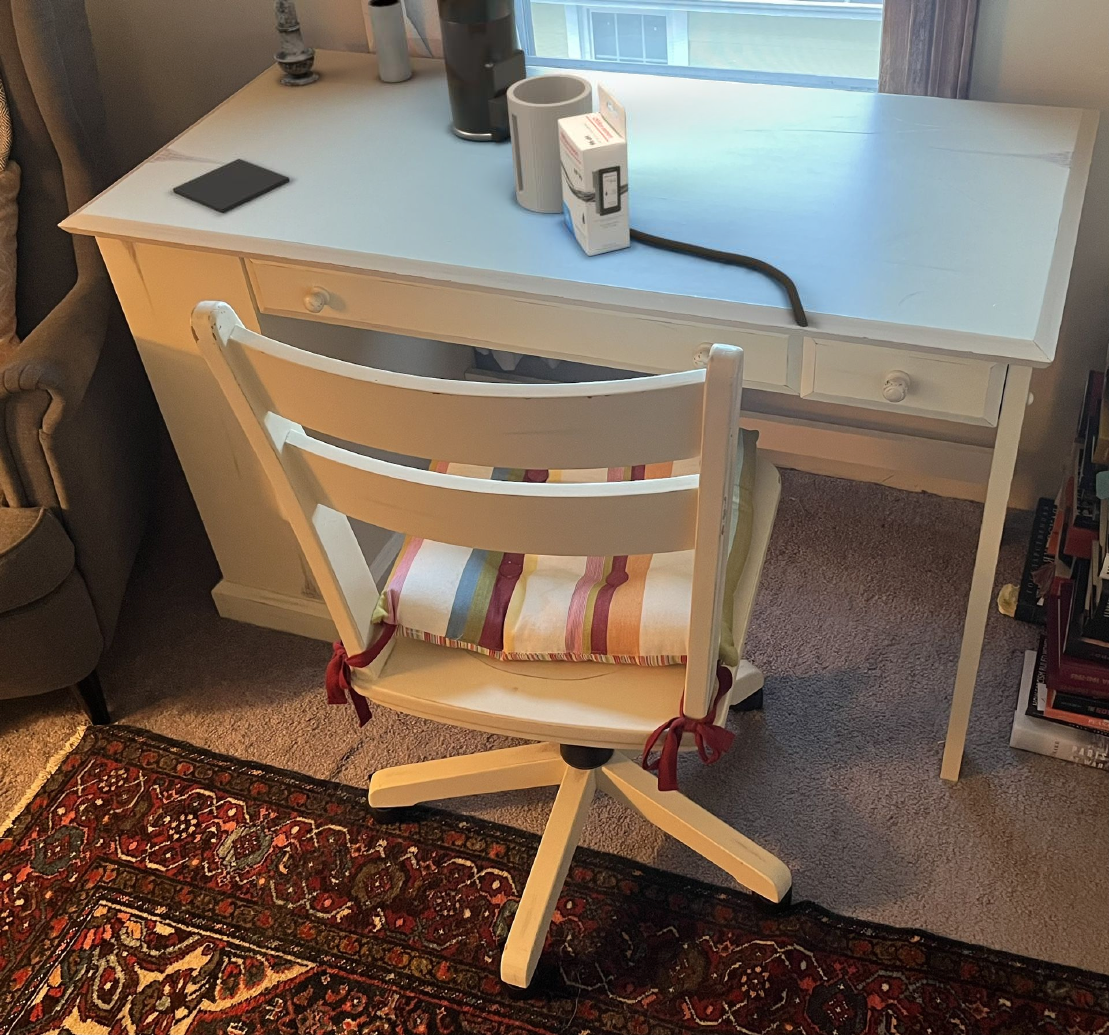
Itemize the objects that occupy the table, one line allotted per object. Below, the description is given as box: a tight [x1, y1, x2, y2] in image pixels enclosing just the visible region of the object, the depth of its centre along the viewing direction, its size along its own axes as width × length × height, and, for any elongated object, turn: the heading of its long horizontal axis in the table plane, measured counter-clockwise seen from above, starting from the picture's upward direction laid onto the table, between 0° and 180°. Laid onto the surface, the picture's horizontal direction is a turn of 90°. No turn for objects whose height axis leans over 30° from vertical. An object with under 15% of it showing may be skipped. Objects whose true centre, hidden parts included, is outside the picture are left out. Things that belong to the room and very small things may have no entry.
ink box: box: [558, 82, 631, 257], centre depth 112 cm, size 8×5×15 cm, turn 18°
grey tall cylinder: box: [367, 0, 413, 83], centre depth 153 cm, size 4×4×10 cm
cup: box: [507, 73, 594, 214], centre depth 121 cm, size 9×9×12 cm
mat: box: [172, 158, 290, 214], centre depth 132 cm, size 10×10×1 cm
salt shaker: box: [273, 0, 319, 87], centre depth 154 cm, size 6×6×12 cm
